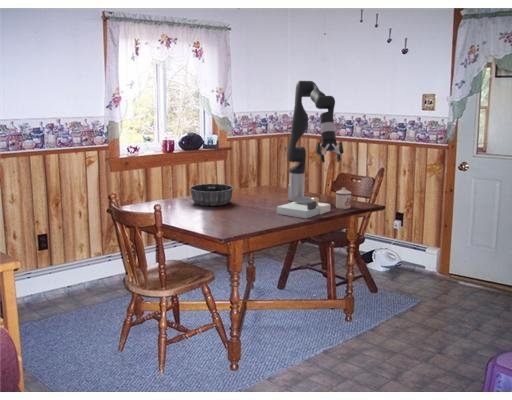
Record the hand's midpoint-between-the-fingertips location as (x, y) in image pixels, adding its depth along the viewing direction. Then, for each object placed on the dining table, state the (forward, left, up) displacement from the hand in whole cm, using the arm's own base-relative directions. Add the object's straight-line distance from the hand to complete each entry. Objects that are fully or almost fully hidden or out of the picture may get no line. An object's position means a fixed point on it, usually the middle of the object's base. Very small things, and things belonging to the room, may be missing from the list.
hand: (331, 162), depth 324 cm
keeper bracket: (-13, +3, -27) cm, 30 cm away
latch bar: (-21, +12, -27) cm, 36 cm away
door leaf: (-22, +3, -31) cm, 38 cm away
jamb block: (-21, +16, -31) cm, 41 cm away
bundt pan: (-78, -4, -32) cm, 84 cm away
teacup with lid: (-10, +36, -32) cm, 49 cm away
